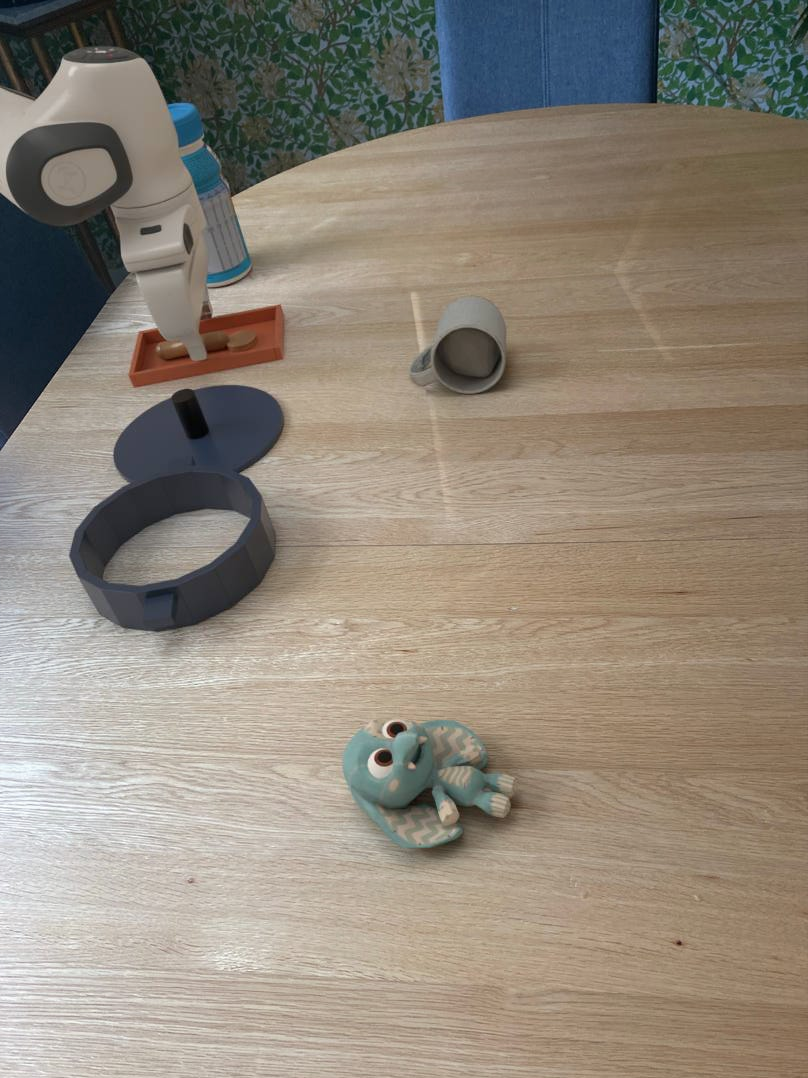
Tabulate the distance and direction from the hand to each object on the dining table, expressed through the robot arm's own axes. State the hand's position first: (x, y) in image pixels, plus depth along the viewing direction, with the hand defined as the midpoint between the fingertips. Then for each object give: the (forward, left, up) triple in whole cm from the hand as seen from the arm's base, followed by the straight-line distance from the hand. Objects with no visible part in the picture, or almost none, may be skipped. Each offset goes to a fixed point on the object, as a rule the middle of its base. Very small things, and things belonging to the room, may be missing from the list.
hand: (203, 336), depth 116 cm
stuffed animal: (+20, -68, -3) cm, 71 cm away
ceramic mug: (+28, -15, -3) cm, 32 cm away
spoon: (0, 0, -2) cm, 2 cm away
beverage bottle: (0, +21, -3) cm, 21 cm away
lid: (0, -18, -2) cm, 18 cm away
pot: (0, -38, -3) cm, 38 cm away
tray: (0, 0, -3) cm, 3 cm away
